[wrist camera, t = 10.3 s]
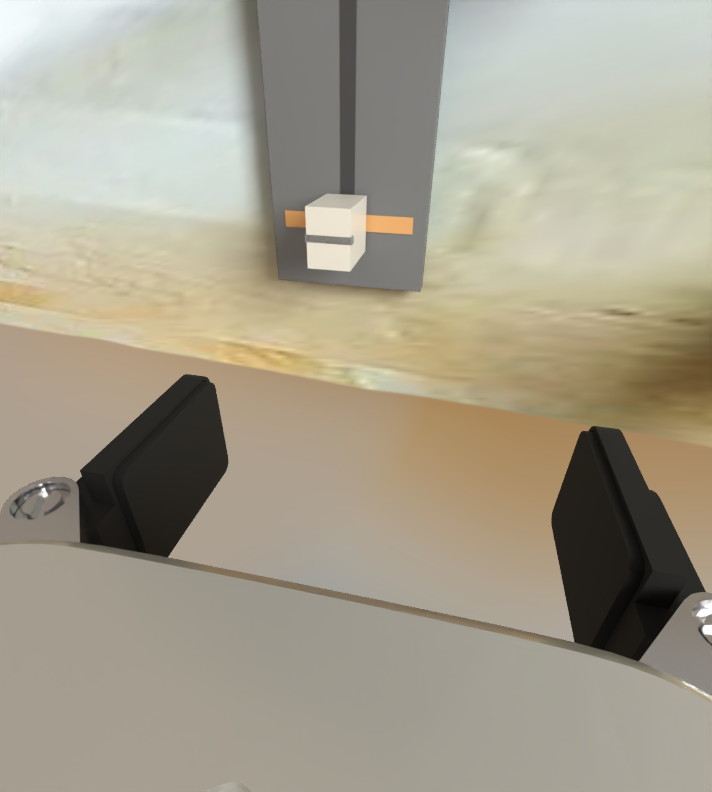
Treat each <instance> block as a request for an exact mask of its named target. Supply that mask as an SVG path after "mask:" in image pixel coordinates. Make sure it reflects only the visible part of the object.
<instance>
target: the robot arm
mask: <svg viewBox="0 0 712 792" xmlns="http://www.w3.org/2000/svg"><path fill="white" fill-rule="evenodd" d="M227 467H228V455H227V449H226V444H225V438H224V433H223V427H222V423H221V416H220V410H219V405H218V400H217V394H216V389H215V385H214V384H213V383H210V381H209V379H208V378H207V377H204V376H196V375H188V374H186V375H183V376H182V377H181V378H180V379H179V380H178V381H177V382H175V383H174V384H173V385H172V386H171V387H170V388H169V389H168V390H167V391H166V392H165V393H164V394H163V395H161V396H160V397H159V398H158V399H157V400H156V401H155V402H154V403H153V404H152V405H150V407H148V408H147V409H146V410H145V411H144V412H143V413H142V414H141V415H140V416H139V417H138V418H136V419H135V420H134V421H133V422H132V423H131V424H130V425H129V426H128V427H127V428H126V429H125V430H123V431H122V432H121V433H120V434H119V435H118V436H117V437H116V438H115V439H114V440H113V441H111V442H110V443H109V444H108V445H107V446H106V447H105V448H104V449H103V450H102V451H101V452H100V453H99V454H97V455H96V456H95V457H94V458H93V459H92V460H91V461H90V462H89V463H88V464H87V465H85V466H84V467H83V468H82V469H81V470H80V472H81V474H82V477H81V478H80V479H79V480H78V481H77V482H75V481H73V480H72V479H69V478H66V477H51V478H46V479H42V480H39V481H36V482H33V483H31V484H28V485H27V486H25V487H23V488H21V489H19V490H18V491H17V492H15V493H14V494H13V495H11V496H10V497H9V499H8V500H7V501H6V502H5V503H4V505H3V507H2V510H1V514H0V792H712V593H707V592H706V591H705V589H704V587H703V585H702V583H701V581H700V579H699V577H698V575H697V573H696V571H695V569H694V567H693V565H692V563H691V561H690V559H689V557H688V555H687V552H686V550H685V548H684V546H683V544H682V542H681V540H680V538H679V536H678V534H677V532H676V530H675V528H674V526H673V524H672V522H671V520H670V518H669V516H668V514H667V512H666V510H665V508H664V505H663V503H662V502H661V499H660V498H659V496H658V495H657V493H655V492H654V491H652V490H649V489H648V487H647V485H646V483H645V481H644V478H643V476H642V474H641V472H640V470H639V468H638V465H637V463H636V461H635V459H634V457H633V455H632V453H631V451H630V448H629V446H628V444H627V442H626V440H625V438H624V436H623V434H622V432H621V431H620V430H619V429H613V428H605V427H597V426H593V427H591V428H590V430H589V432H588V431H582V432H581V433H580V436H579V438H578V441H577V444H576V446H575V449H574V452H573V455H572V458H571V461H570V464H569V466H568V469H567V472H566V475H565V478H564V480H563V483H562V486H561V489H560V492H559V495H558V497H557V500H556V503H555V506H554V509H553V512H552V529H553V535H554V540H555V545H556V550H557V555H558V560H559V565H560V570H561V575H562V580H563V585H564V590H565V596H566V601H567V606H568V610H569V616H570V621H571V626H572V631H573V636H574V641H575V643H574V642H570V641H566V640H562V639H557V638H552V637H548V636H544V635H539V634H535V633H531V632H526V631H522V630H517V629H513V628H508V627H504V626H500V625H495V624H490V623H485V622H481V621H476V620H471V619H467V618H462V617H457V616H452V615H448V614H443V613H438V612H433V611H428V610H424V609H419V608H414V607H409V606H404V605H400V604H395V603H390V602H385V601H381V600H376V599H370V598H366V597H361V596H356V595H351V594H347V593H341V592H337V591H332V590H327V589H322V588H317V587H312V586H307V585H303V584H298V583H293V582H288V581H283V580H278V579H273V578H267V577H263V576H258V575H253V574H248V573H243V572H238V571H233V570H228V569H223V568H218V567H213V566H207V565H203V564H198V563H193V562H187V561H182V560H178V559H173V558H168V556H169V555H170V553H171V552H172V550H173V549H174V547H175V546H176V544H177V543H178V541H179V540H180V538H181V537H182V535H183V534H184V532H185V531H186V529H187V528H188V526H189V525H190V523H191V522H192V521H193V519H194V518H195V516H196V515H197V513H198V512H199V510H200V509H201V507H202V506H203V504H204V503H205V501H206V500H207V498H208V497H209V495H210V494H211V492H212V491H213V489H214V488H215V487H216V485H217V484H218V482H219V481H220V479H221V478H222V476H223V475H224V473H225V472H226V469H227Z"/></svg>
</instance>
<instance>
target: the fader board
mask: <svg viewBox="0 0 712 792" xmlns="http://www.w3.org/2000/svg"><path fill="white" fill-rule="evenodd" d="M449 1H450V0H257V12H258V25H259V37H260V50H261V62H262V75H263V88H264V100H265V113H266V125H267V138H268V150H269V163H270V176H271V188H272V201H273V213H274V226H275V239H276V251H277V264H278V276H279V280H288V281H300V282H312V283H323V284H335V285H347V286H359V287H370V288H382V289H394V290H406V291H417V292H420V291H421V287H422V283H423V272H424V262H425V251H426V241H427V230H428V220H429V210H430V199H431V189H432V178H433V168H434V157H435V147H436V137H437V126H438V116H439V105H440V95H441V84H442V74H443V63H444V53H445V43H446V32H447V22H448V11H449ZM325 194H345V195H365V196H367V205H366V245H365V252H364V254H363V255H362V256H361V258H360V259H359V260H358V262H357V263H356V264H355V266H354V267H353V268H352V270H351V271H350V272H348V271H335V270H323V269H310V268H308V264H307V242H305V234H306V218H305V206H306V205H308V204H310V203H312V202H313V201H315V200H317V199H319V198H320V197H322V196H324V195H325Z"/></svg>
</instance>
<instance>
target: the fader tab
mask: <svg viewBox="0 0 712 792" xmlns="http://www.w3.org/2000/svg"><path fill="white" fill-rule="evenodd" d="M366 205H367V196H365V195H345V194H325V195H324V196H322V197H320V198H319V199H317V200H315V201H313V202H312V203H310V204H308V205H306V206H305V218H306V234H305V242H307V264H308V268H310V269H323V270H335V271H348V272H350V271H351V270H352V268H353V267H354V266H355V264H356V263H357V262H358V260H359V259H360V258H361V256H362V255H363V254H364V252H365V245H366Z"/></svg>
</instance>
